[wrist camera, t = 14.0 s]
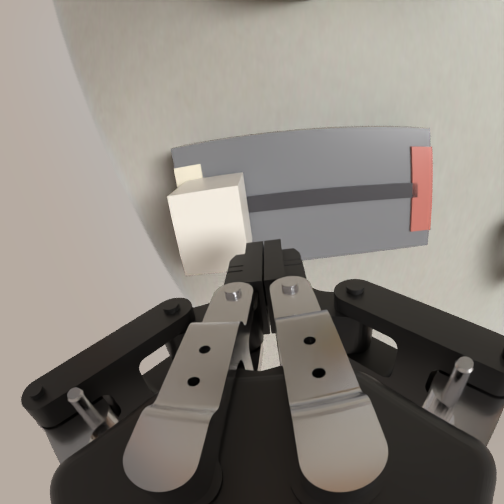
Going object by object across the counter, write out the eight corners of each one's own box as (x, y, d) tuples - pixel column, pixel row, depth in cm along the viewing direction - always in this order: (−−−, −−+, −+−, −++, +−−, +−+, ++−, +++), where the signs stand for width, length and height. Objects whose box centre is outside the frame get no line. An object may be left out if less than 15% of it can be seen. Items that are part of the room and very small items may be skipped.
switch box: (407, 126, 22) (431, 128, 18) (408, 229, 26) (428, 245, 22) (184, 145, 23) (170, 148, 20) (204, 252, 27) (196, 273, 24)
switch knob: (242, 172, 20) (237, 185, 15) (252, 238, 22) (250, 269, 17) (187, 180, 20) (167, 196, 16) (200, 244, 22) (185, 275, 18)
